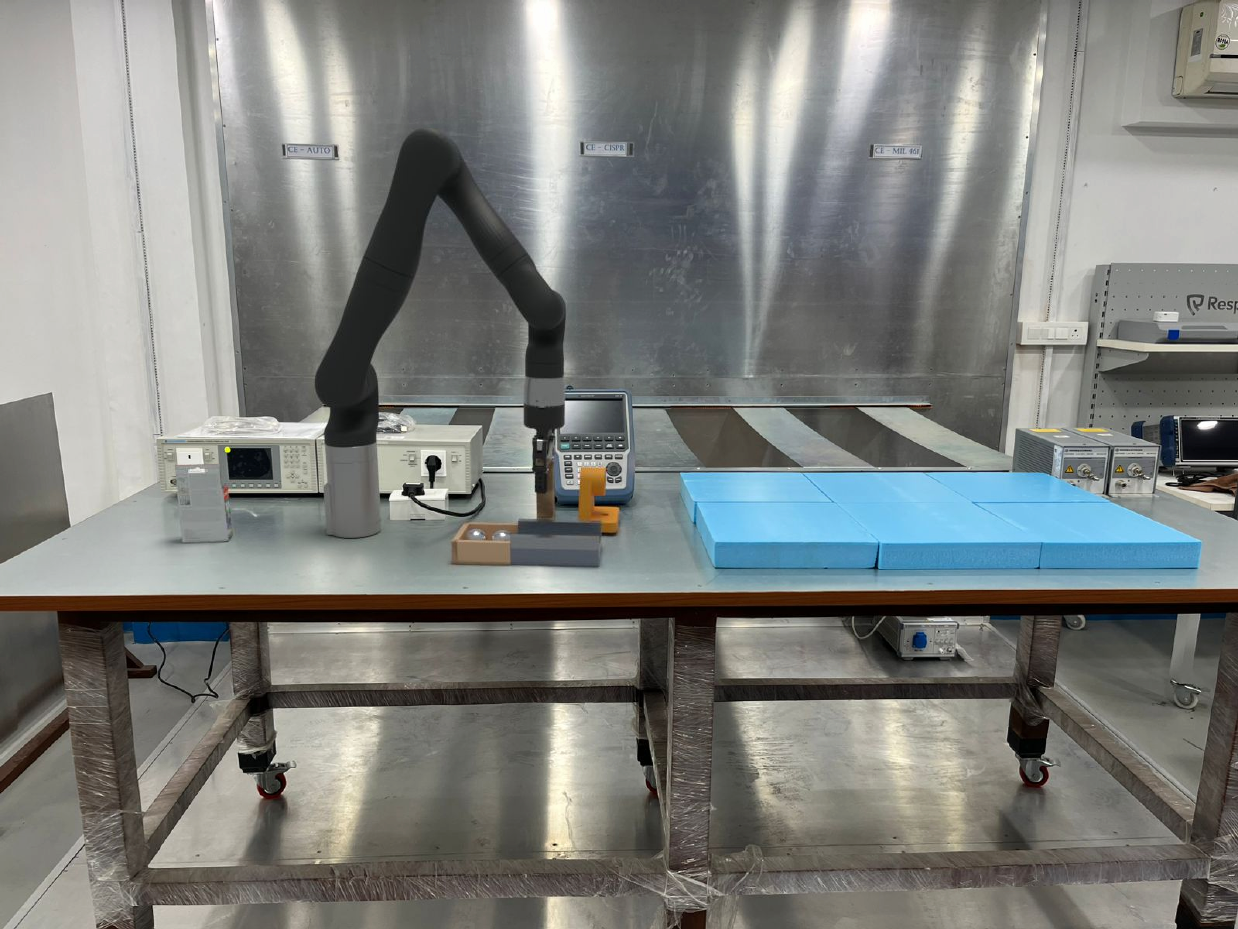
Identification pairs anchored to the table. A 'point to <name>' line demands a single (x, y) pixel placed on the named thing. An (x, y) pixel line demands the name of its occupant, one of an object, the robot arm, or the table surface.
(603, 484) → the bracket
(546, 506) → the tall wooden post
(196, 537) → the ink box
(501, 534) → the ball
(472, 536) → the ball
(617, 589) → the table surface
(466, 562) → the tray
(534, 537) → the slot rail
